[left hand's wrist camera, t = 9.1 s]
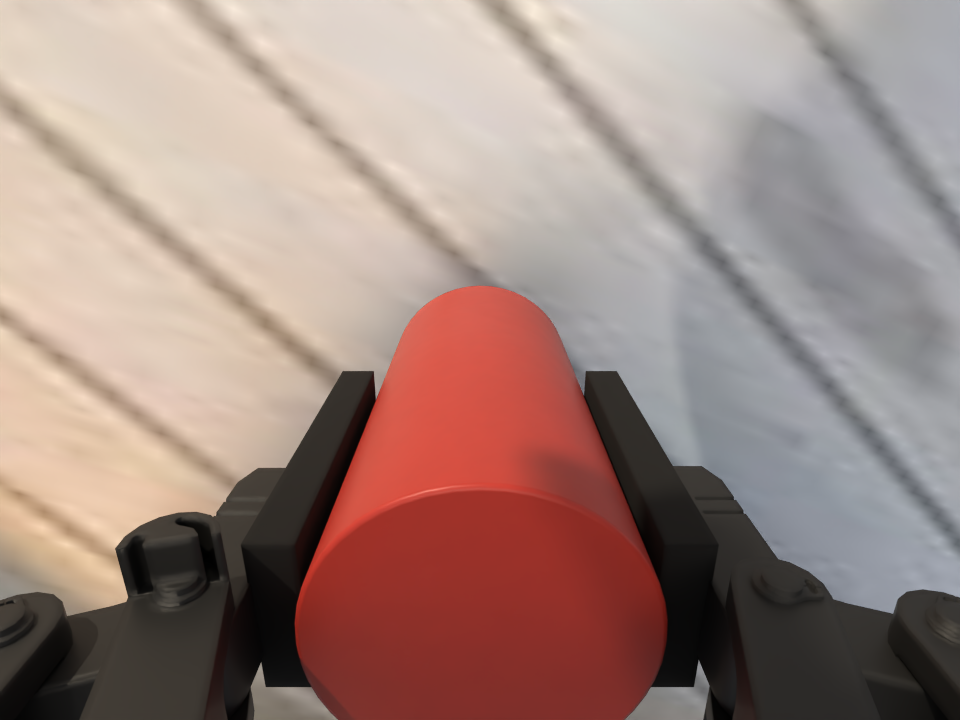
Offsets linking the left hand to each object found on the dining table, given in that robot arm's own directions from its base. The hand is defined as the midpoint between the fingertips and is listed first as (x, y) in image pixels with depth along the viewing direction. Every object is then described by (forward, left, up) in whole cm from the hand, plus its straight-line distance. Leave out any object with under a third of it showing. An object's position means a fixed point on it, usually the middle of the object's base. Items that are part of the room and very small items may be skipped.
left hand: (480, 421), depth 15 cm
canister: (0, 0, -4) cm, 4 cm away
